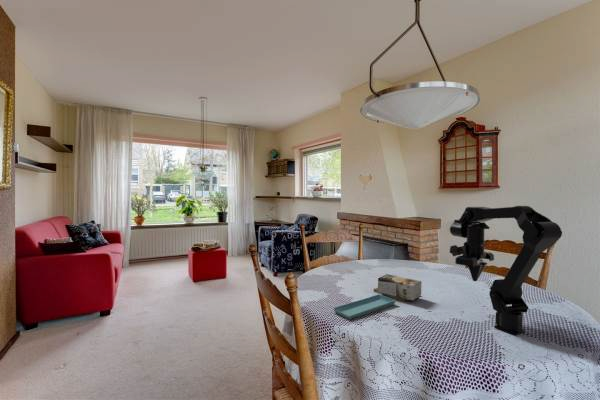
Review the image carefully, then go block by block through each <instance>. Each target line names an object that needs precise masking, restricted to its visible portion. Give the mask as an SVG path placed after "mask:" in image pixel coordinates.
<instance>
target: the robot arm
mask: <svg viewBox="0 0 600 400" xmlns="http://www.w3.org/2000/svg"><path fill="white" fill-rule="evenodd" d="M494 219H515V221H516V223H517V225H518V227H519V229H520V230H521V231H522V232H523V234H522V242H523V245H522V247H521V248H520V251H519V253H518V254H517V255H516V257H515V260H513V263H512V265H511V266H510V267H509V270H508V272H507V273H506V275H505V276H504V278H503V279H502V278H501V279H500V278H499V279H494V280H493V282H492V285H491V286H490V287H489V293H488V295H489V297H490V298H489V299H490V302H491V306H492V309H493V310H494V311H496V312H495V325H494V326H493V328H495V329H498V330H500V331H502V332H505V333H507V334H510V335H513V336H517V335H520V334H522V333H524V332H526V329H525V328H523V327H524V326H523V325H524V324H523V321H524V319H523V318H524V317H523V316H524V315H523V313H527V312H528V310H529V306H528V304H527V303H526V302H525V300H524V299H523V298H522V295H523V288H522V286H523V285H524V283H525V281H526V279H527V278H528V276H529V274H530V273H531V271H533V268H534V267H535V265H536V263H537V261H538V260H539V259H540V257H541V255H542V254H543V253H544V252H545V251H546V250H547V249H550V248H551V247H553V246H554V245H556V243H557V242H558V241H559V240H560V239H561V238H562V235H563V231H562V229H561V227H560V226H559V224H558V223H556V222H553V221H552V220H551V219H550V218H548V217H547V216H545V215H543V214H542V213H540V212H537V211H536V210H535V209H534V208H533V207H531V206H529V205H514V206H507V207H505V206H504V207H494V208H491V207H488V206H467V207H465V210H464V211H463V213H462V215H461V216H460V218H459V219H454V221H453V223H452V224H451V225H450V227H449V232H450V234H451V235H452V236H454V237H458V238H463V239H466V241H464V242H463V245H461V246H458V245H456V244H454V245H450V246H449V253H450V254H451V255H452V257H455V264H456V265H461V266H466V267H467V268H468V270H469V273H470V276H471V279H472V281H473V282H478V280H479V278H480V277H481V274H482V273H483V271H484V269H485V268H486V266H487V264H488V262H485V261H484V260H489V261H490V262H492V261H494V260H495V254H494V253H492V252H489V251H485V247H486V246H487V242H485V230H490V226H489V225H488V224H486V222H488V221H491V220H494Z"/></svg>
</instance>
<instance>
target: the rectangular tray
mask: <svg viewBox="0 0 600 400" xmlns="http://www.w3.org/2000/svg"><path fill="white" fill-rule="evenodd" d="M396 300H397V299H395V298H392V297H389V296H386V295H383V294H380V293H377V294H376V295H372V296H369V297H366V298H362V299H359V300H356V301H355V300H354V301H352V302H349V303H345V304H342V305H339V306H335V307H333V309H332V310H333V311H334V312H335V314H338V315H339V316H341V317H342V318H345V319H347V320H353V319H355V318H358V317H362V316H365V315H368V314H372V313H374V312H377V311H380V310H383V309H386V308H389V307H392V306H394V304H395V303H396V302H397V301H396ZM352 318H353V319H352Z"/></svg>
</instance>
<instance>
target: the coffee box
mask: <svg viewBox="0 0 600 400" xmlns="http://www.w3.org/2000/svg"><path fill="white" fill-rule="evenodd" d="M377 288H378V292H381V293H385V294H389V295H393V296H397V297H401V298H405V299H409V300H408V301H415V300H416V299H417V298H419V297H420V296H422V280H418V279H412V278H410V277H409V278H408V277H403V276H398V275H393V274H388V273H386V274H385V275H381V276H379V277H378V278H377Z"/></svg>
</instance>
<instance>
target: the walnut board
mask: <svg viewBox="0 0 600 400" xmlns="http://www.w3.org/2000/svg"><path fill="white" fill-rule="evenodd" d="M373 292H374V293H377V294H380V295H383V296H386V297H388V298H391V299H394V300H398V301H402V302H407V301H410V300H409V299H405V298H401V297H397V296H393V295H389V294H385V293H381V292H378V287H376V288H373Z"/></svg>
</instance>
